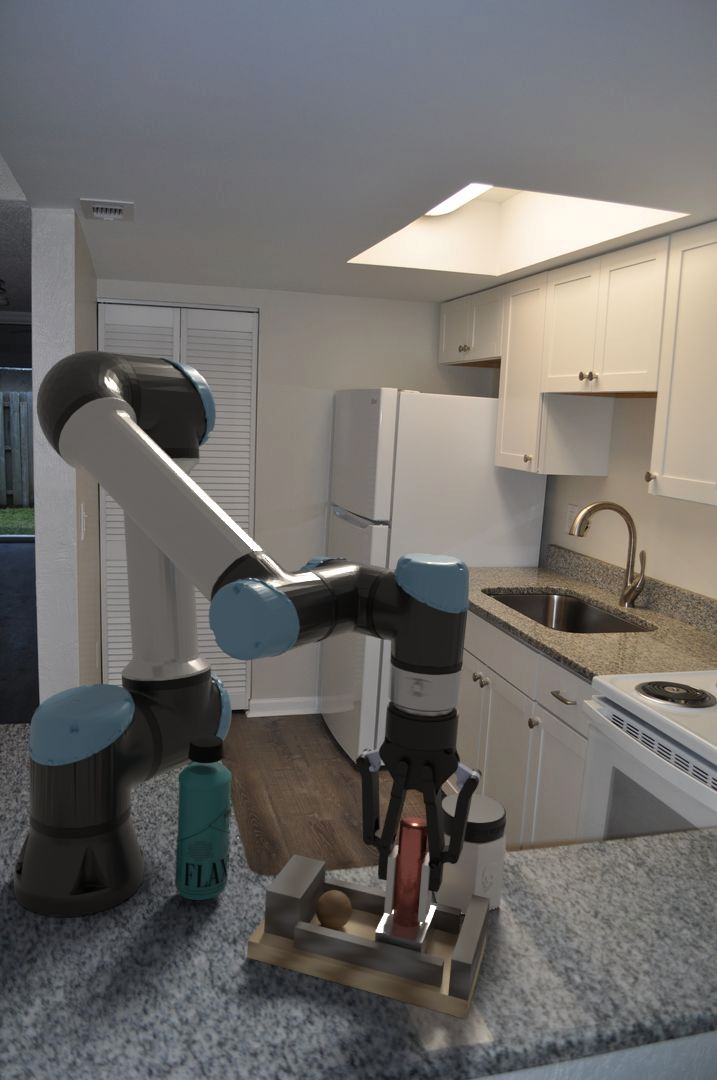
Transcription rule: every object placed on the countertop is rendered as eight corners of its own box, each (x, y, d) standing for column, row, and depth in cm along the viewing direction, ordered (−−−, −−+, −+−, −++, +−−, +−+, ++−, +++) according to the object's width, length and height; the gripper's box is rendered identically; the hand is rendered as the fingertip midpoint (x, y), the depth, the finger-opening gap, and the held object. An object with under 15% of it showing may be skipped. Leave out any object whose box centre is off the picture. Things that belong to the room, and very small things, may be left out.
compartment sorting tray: (247, 957, 88) (249, 897, 87) (289, 897, 99) (292, 844, 98) (466, 1019, 81) (472, 954, 80) (485, 947, 92) (490, 890, 91)
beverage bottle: (174, 915, 94) (179, 752, 91) (172, 883, 101) (176, 729, 98) (231, 909, 96) (237, 749, 93) (224, 878, 102) (231, 727, 100)
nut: (309, 931, 90) (311, 898, 89) (322, 911, 94) (324, 879, 93) (343, 940, 89) (346, 907, 88) (355, 920, 92) (357, 887, 92)
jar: (459, 925, 96) (467, 830, 94) (417, 889, 103) (424, 800, 101) (514, 904, 101) (523, 813, 99) (470, 871, 108) (478, 786, 106)
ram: (373, 957, 86) (382, 834, 84) (391, 920, 93) (400, 804, 91) (419, 969, 85) (429, 844, 82) (434, 931, 91) (443, 814, 89)
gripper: (338, 702, 83) (325, 912, 87) (495, 729, 79) (475, 950, 82) (360, 681, 90) (347, 876, 94) (505, 704, 86) (486, 909, 89)
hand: (407, 910), depth 88 cm, fingers closed on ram, 3 cm apart
